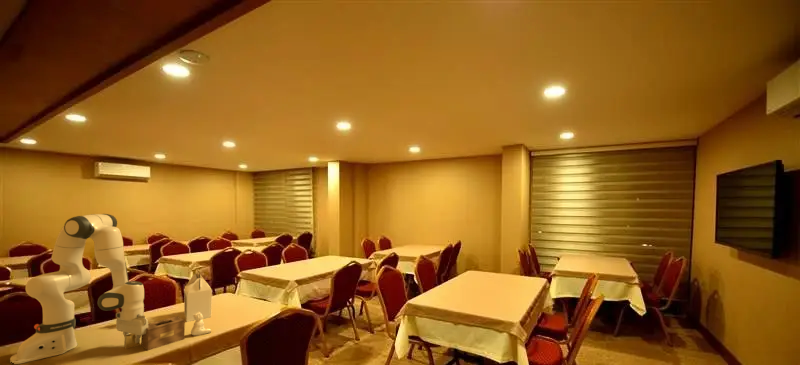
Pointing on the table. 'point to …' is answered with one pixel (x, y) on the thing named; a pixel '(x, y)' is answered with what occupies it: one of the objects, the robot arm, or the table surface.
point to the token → (130, 341)
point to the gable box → (197, 298)
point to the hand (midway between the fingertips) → (132, 341)
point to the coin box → (163, 333)
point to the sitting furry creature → (199, 325)
